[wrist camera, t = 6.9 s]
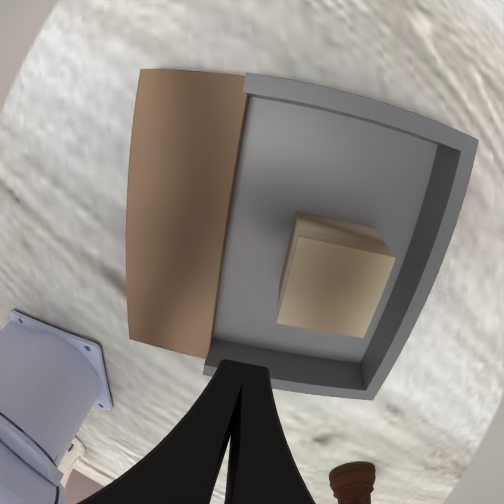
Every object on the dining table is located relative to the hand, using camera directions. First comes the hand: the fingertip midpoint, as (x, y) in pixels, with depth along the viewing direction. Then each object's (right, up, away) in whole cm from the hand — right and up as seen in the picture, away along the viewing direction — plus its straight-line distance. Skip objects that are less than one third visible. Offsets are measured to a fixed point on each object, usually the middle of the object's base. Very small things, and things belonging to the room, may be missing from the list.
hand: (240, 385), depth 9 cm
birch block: (+4, +4, +7) cm, 9 cm away
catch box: (+4, +4, +7) cm, 9 cm away
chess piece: (+10, -18, +16) cm, 26 cm away
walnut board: (-3, +5, +7) cm, 10 cm away
